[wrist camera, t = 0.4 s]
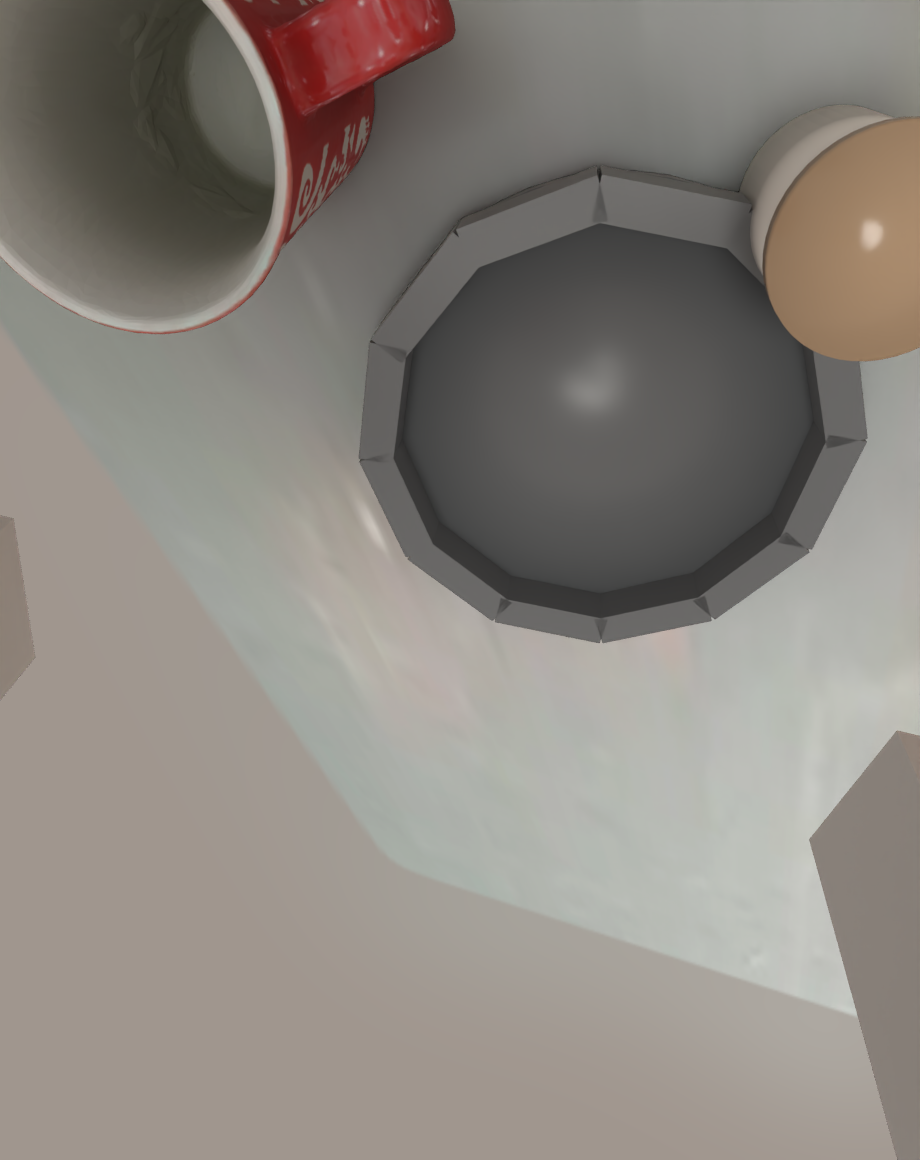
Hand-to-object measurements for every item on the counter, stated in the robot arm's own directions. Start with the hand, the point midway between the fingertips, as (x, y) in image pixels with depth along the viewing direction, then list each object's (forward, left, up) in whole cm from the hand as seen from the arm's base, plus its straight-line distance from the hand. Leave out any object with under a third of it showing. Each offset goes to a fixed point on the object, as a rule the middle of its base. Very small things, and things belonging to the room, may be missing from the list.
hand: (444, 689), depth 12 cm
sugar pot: (+1, +11, -25) cm, 27 cm away
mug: (-9, -5, -25) cm, 27 cm away
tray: (+7, +1, -25) cm, 26 cm away
